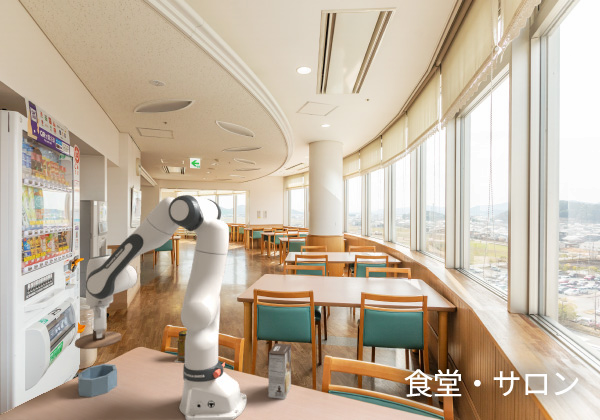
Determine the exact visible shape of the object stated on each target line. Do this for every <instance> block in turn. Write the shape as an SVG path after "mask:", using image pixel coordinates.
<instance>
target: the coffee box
mask: <svg viewBox="0 0 600 420" xmlns="http://www.w3.org/2000/svg"><path fill="white" fill-rule="evenodd" d="M291 351H292V344H287V343H275V344H273V346H272V348H271V349H270V350H269V352H268V387H267V389H268V398H272V399H280V400H286V399H287V398H286V397H287V395H288V394H289V391H290V389H291V387H292V374H291V373H292V366H291V365H292V357H291V356H292V352H291Z"/></svg>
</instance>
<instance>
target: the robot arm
mask: <svg viewBox="0 0 600 420" xmlns="http://www.w3.org/2000/svg"><path fill="white" fill-rule="evenodd" d="M221 217H222V211H221V207H220V206H219V204H218V203H216V202H215V201H214V200H212V199H209V198H204V197H202V196H199V195H190V194H185V195H184V194H183V195H179V196H176V197H172V196H167V197H165V198H163V199H162V200H161V201H160V202H158V203H157V204H156V205H155V207H154V208H153V209H152V210H151V211H150V212H149V213H148V214H147V216H146V217H145V219H143V221H142V222H141V223H140V224H139V226H138V227H137V228H136V229H135V230H134V231H133V232H132V233H131V234H130V235H129V236H128V237H127V238H125V240H124V241H123V242H121V244H120V245H119V246H118V247H117V248H116V249H115V251H114V252H113V253H112V254H105V255H99V256H93V257H91V258H89V260H88V262H87V265H86V276H85V277H86V278H85V280H86V281H85V287H86V290H85V305H86V306H87V307H88V306H89V309H90V310H92V312H93V329H94V331H96V338H101V337H102V331H103V330H104V329H105V330H106V327H107V326H106V324H107V323H106V322H107V321H106V319H107V318H106V317H107V313H106V312H107V308H109V307H110V304H112V303H113V302H114V295H115V294H118V293H121V292H124V291H127V290H130V289H131V288H133V287H135V285H136V284H137V282H138V279H139V277H138V271H137V270H136V268H135V267H134V266H133V265H131V264H130V263H132V262H133V260H135V259H136V258H138V257H139V256H141V255H143V254H145V253H147V252H150V251H153V250H156V249H158V248H160V247H162V246H163V245H164V244H166V243H167V242H168V241H169V240H171V238H172V237H173V235H174V234H175V233H176V232H177V230H178V229H179V227H181V228H183V229H185V230H186V231H188V232H193V231H194V232H195V234H196V242H195V247H194V253H193V260H192V264H191V271H190V273H189V274H190V275H189V277H188V282H187V285H186V289H185V293H184V296H183V302H182V307H181V310H180V322H181V323H182V326H183V327H184V328H185V329H186V330H187V332H186V339H185V362H183V363H184V364H183V370H182V371H183V372H182V373H183V375H182V376H183V389H182V396H181V398H180V399H181V400H180V403H179V411H180V412H181V413H182V414H183V415H184V418H185V420H234V419H236V418H237V417H239V416H240V415H241V414H242V412H244V409H245V408H246V406H247V402H248V399H247V398H248V397H247V395H246V393H243V392H241V388H240V384H239V382H238V381H237V380H235V379H234V378H233V377H231V376H230V375H229V374H227V373H226V372H225V371H224V367H225V364H226V362H225V361H224V362H223V363H221V362H220V360H219V333H220V317H221V297H220V295H221V291H222V286H223V282H224V277H225V271H226V270H225V269H226V264H227V258H228V251H229V243H230V228H229V226H228V224H227V223H226V222H225V221H223V220H221Z"/></svg>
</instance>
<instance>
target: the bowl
mask: <svg viewBox="0 0 600 420" xmlns="http://www.w3.org/2000/svg"><path fill="white" fill-rule="evenodd" d="M117 386H118V368H117V367H116V364H109V363H100V364H99V365H98V364H97V365H93V366H90V367H89V366H88V367H87V368H86V369H84V370H82V371H80V372H78V374H77V391H78V396H79V397H86V398H87V397H88V398H92V397H96V396H100V395H103V394H107V393H109V392H110V391H112V390H113V389H114V388H116V387H117Z"/></svg>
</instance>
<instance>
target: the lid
mask: <svg viewBox="0 0 600 420" xmlns="http://www.w3.org/2000/svg"><path fill="white" fill-rule="evenodd" d="M122 336H123V335H122V334H121V333H120V332H116V331H106V328H105V329H104V330H103V331H102V337H101V338H96V331H94V328H93V329H92V333H88V334H86V335H83V336H81V337H79V338H77V339H76V340H75V342H74V346H75V347H76V348H78V349H81V350H93V349H100V348H106V347H109V346H112V345H114V344H117V343H119V342H120V341H121V340H122Z"/></svg>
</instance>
